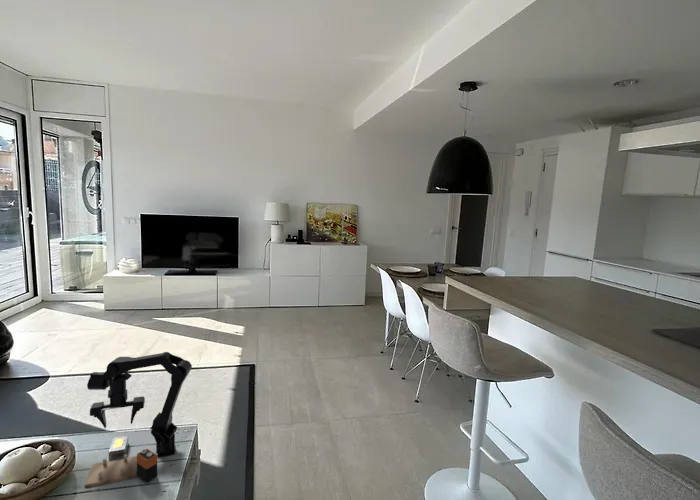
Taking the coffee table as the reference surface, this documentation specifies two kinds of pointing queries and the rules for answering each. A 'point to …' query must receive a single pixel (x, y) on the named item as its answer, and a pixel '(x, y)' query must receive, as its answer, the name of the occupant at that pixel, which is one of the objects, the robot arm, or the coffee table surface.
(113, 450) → the block
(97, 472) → the brown board with pegs
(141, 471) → the battery
